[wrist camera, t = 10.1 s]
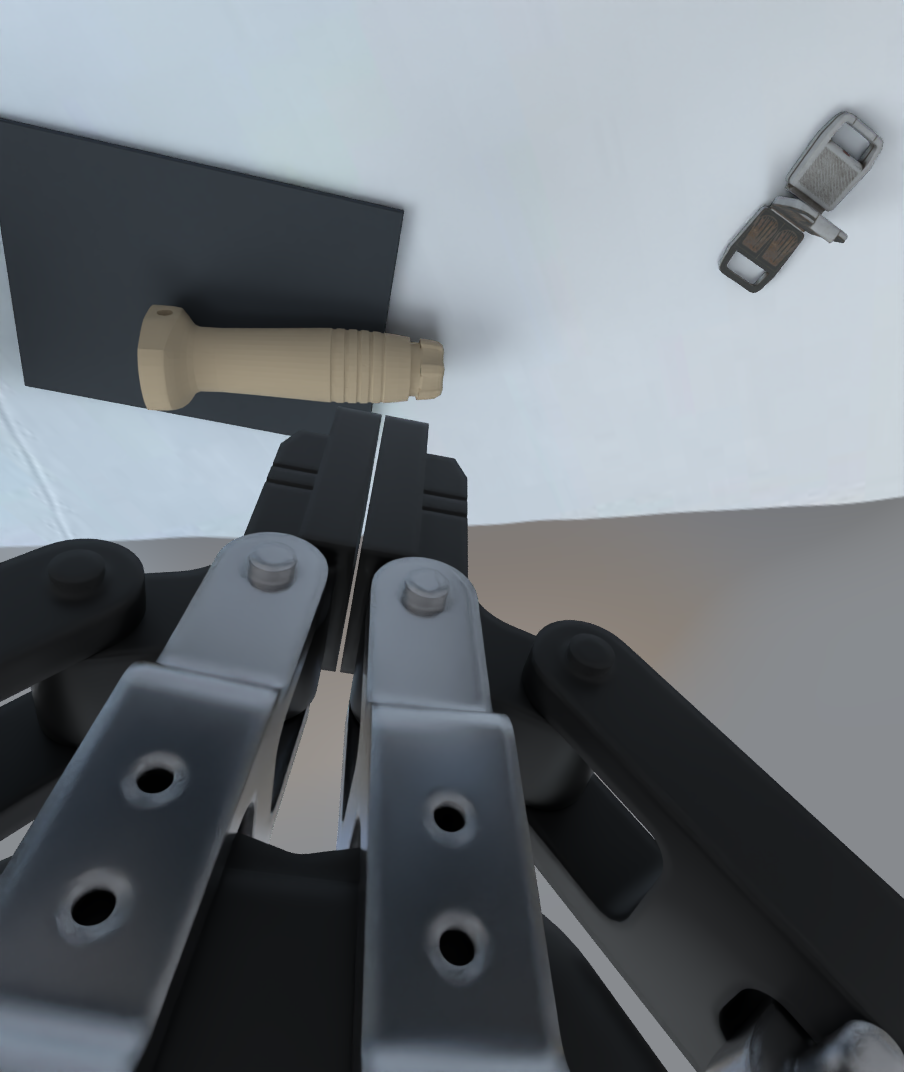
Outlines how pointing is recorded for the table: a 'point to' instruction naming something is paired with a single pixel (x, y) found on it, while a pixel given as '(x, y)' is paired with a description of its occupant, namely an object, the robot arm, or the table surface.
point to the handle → (281, 362)
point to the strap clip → (804, 202)
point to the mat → (177, 265)
